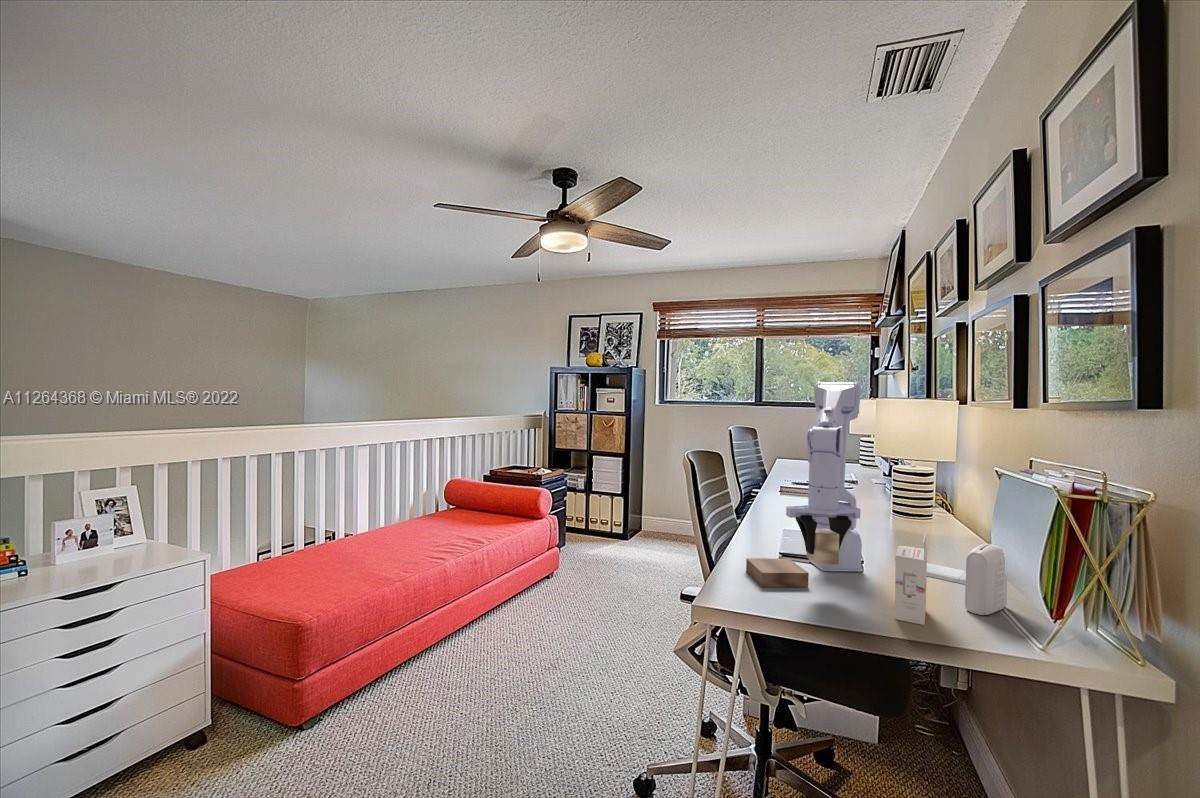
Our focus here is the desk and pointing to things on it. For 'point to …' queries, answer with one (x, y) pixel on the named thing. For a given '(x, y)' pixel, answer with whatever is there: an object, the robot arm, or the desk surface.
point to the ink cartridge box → (911, 583)
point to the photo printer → (985, 580)
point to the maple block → (825, 547)
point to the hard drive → (946, 573)
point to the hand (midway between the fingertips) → (822, 552)
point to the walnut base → (776, 572)
